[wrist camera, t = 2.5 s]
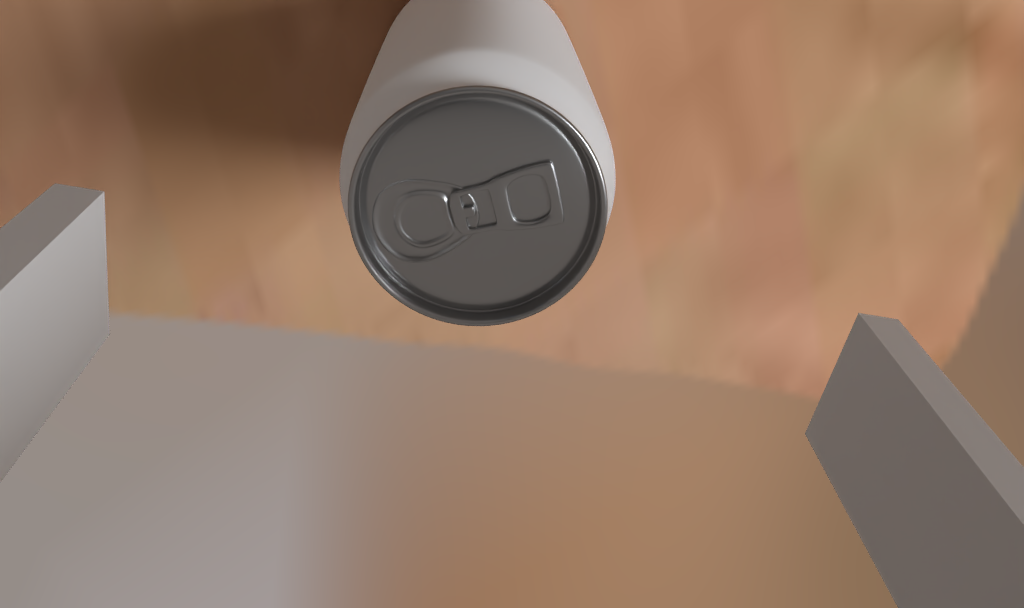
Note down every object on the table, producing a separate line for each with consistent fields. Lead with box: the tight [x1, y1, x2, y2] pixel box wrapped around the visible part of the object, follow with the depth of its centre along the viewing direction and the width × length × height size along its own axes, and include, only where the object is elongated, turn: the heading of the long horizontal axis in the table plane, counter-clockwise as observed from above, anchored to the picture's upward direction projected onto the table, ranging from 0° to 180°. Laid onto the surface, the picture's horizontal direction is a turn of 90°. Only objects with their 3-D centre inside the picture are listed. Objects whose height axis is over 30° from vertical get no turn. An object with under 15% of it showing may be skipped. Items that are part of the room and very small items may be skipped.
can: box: [340, 0, 616, 326], centre depth 24 cm, size 6×6×12 cm
